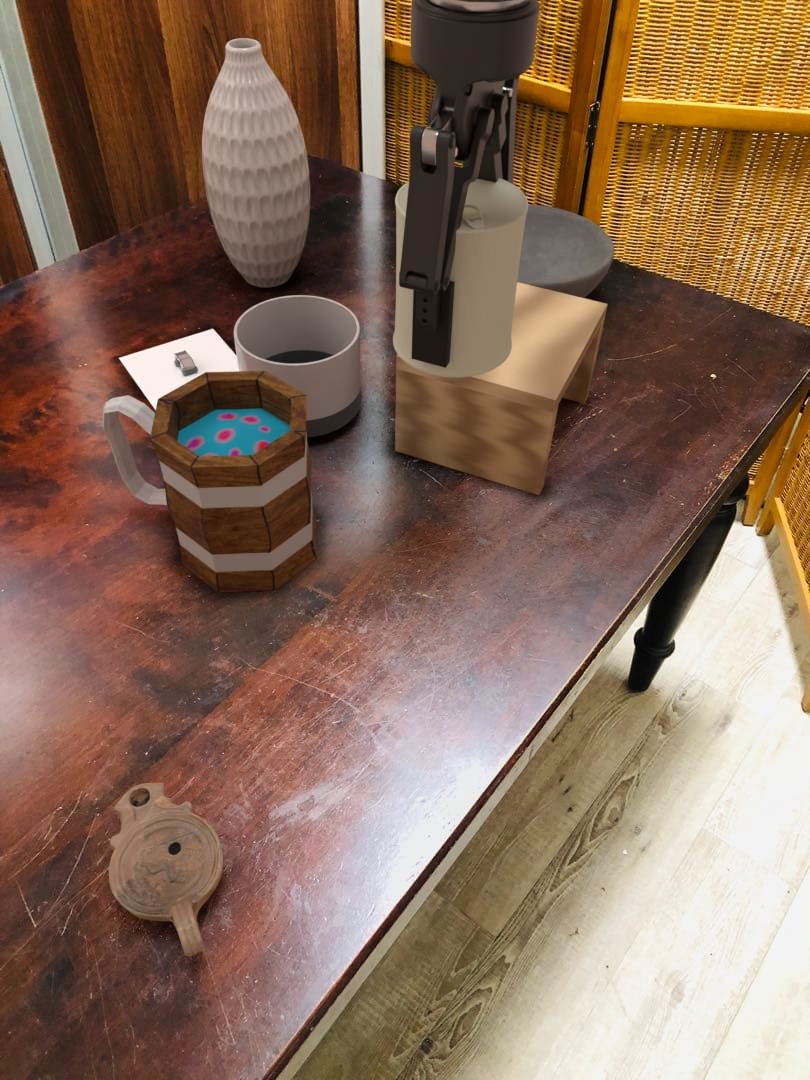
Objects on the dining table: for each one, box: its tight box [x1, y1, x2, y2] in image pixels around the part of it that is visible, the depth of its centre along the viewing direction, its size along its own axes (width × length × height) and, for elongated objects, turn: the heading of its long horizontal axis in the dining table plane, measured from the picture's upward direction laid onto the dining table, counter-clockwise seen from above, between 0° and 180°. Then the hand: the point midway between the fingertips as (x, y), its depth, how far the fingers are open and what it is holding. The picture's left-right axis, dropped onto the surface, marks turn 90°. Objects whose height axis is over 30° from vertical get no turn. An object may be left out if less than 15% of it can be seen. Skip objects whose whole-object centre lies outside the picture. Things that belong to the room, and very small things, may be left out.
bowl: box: [517, 203, 615, 299], centre depth 112 cm, size 21×21×8 cm
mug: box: [101, 371, 318, 593], centre depth 79 cm, size 20×14×15 cm
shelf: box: [394, 282, 609, 496], centre depth 92 cm, size 16×18×12 cm
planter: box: [233, 294, 362, 439], centre depth 94 cm, size 13×13×10 cm
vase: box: [201, 37, 311, 289], centre depth 107 cm, size 13×13×28 cm
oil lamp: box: [108, 782, 224, 958], centre depth 59 cm, size 13×8×5 cm, turn 25°
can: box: [392, 178, 529, 378], centre depth 64 cm, size 9×9×12 cm
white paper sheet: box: [118, 328, 239, 411], centre depth 102 cm, size 12×12×2 cm
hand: (453, 327), depth 67 cm, fingers closed on can, 9 cm apart
